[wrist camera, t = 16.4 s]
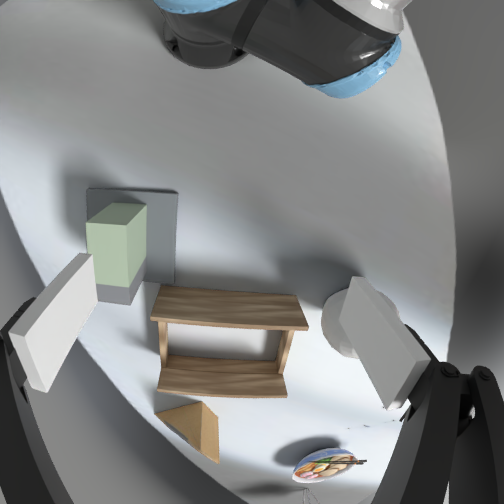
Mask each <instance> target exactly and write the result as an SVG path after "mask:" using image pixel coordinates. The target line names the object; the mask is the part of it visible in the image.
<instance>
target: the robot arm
mask: <svg viewBox="0 0 504 504" xmlns="http://www.w3.org/2000/svg"><path fill="white" fill-rule="evenodd" d="M153 1H154V2H155V3H156V4H157V6H158V7H159V9H160V10H161V12H162V14H163V15H164V17H165V22H164V28H163V33H164V39H165V42H166V45H167V47H168V48H169V50H170V51H171V53H172V54H173V55H174V56H175V57H176V58H177V59H179V60H180V61H181V62H183V63H185V64H187V65H189V66H192V67H196V68H201V69H217V68H223V67H227V66H230V65H232V64H234V63H236V62H238V61H240V60H242V59H243V58H244V57H246V56H247V55H248V54H249V53H250V54H252V55H254V56H256V57H258V58H260V59H262V60H264V61H266V62H268V63H270V64H272V65H274V66H276V67H278V68H280V69H281V70H283V71H285V72H287V73H289V74H291V75H292V76H294V77H296V78H298V79H299V80H301V81H302V82H303V83H304V84H305V85H307V86H310V87H313V88H316V89H318V90H319V91H321V92H323V93H325V94H327V95H328V96H330V97H334V98H348V97H352V96H355V95H357V94H359V93H361V92H363V91H365V90H366V89H368V88H369V87H371V86H372V85H374V84H375V83H376V82H377V81H379V80H380V79H381V78H382V77H383V76H384V75H385V74H386V73H387V72H386V70H387V68H389V67H391V66H392V65H393V64H394V63H395V61H396V60H397V58H398V56H399V54H400V51H401V40H400V38H399V36H398V34H400V33H401V32H402V30H403V29H404V23H403V16H402V10H403V8H405V7H406V6H407V5H408V4H409V3H410V2H411V1H412V0H153ZM97 303H98V299H97V291H96V283H95V274H94V265H93V254H85V253H79V254H78V255H77V256H76V257H75V258H74V259H73V260H72V261H71V262H70V263H69V264H68V265H67V266H66V267H65V268H64V269H63V270H62V271H61V272H60V273H59V274H58V275H57V276H56V278H55V279H54V280H53V281H52V282H51V283H50V284H49V285H48V286H47V287H46V288H45V290H44V291H43V292H42V293H41V294H40V295H39V296H38V298H34V297H33V298H31V299H29V300H28V301H26V302H24V303H23V305H22V306H21V307H20V308H19V309H18V311H17V312H16V313H15V314H14V315H13V317H11V318H10V320H9V321H8V322H7V323H6V324H5V326H4V327H3V328H2V329H1V330H0V486H1V489H2V492H3V494H4V497H5V500H6V503H7V504H74V503H73V501H72V499H71V498H70V496H69V494H68V492H67V490H66V489H65V487H64V485H63V483H62V481H61V479H60V477H59V475H58V473H57V471H56V469H55V467H54V464H53V462H52V460H51V458H50V455H49V453H48V451H47V449H46V446H45V444H44V441H43V439H42V436H41V433H40V431H39V428H38V425H37V423H36V420H35V417H34V414H33V411H32V408H31V405H30V402H29V398H28V395H27V392H26V389H25V387H24V385H23V384H24V382H25V380H26V379H28V381H29V383H30V385H31V387H32V388H34V389H37V390H40V391H43V392H46V393H48V391H49V389H50V387H51V384H52V382H53V381H54V379H55V377H56V375H57V373H58V371H59V369H60V367H61V365H62V363H63V361H64V360H65V358H66V356H67V354H68V352H69V350H70V348H71V347H72V345H73V343H74V341H75V340H76V338H77V336H78V334H79V333H80V331H81V329H82V328H83V326H84V324H85V322H86V321H87V319H88V317H89V316H90V314H91V312H92V311H93V309H94V308H95V306H96V304H97ZM339 322H340V324H341V326H342V327H343V329H344V331H345V333H346V335H347V336H348V338H349V340H350V342H351V344H352V346H353V348H354V349H355V351H356V353H357V355H358V357H359V359H360V361H361V362H362V364H363V366H364V368H365V370H366V372H367V374H368V376H369V378H370V379H371V381H372V383H373V385H374V387H375V389H376V391H377V393H378V395H379V397H380V399H381V401H382V403H383V405H384V407H385V409H386V411H387V410H393V409H398V408H401V407H402V406H403V404H404V403H405V401H406V400H407V398H408V399H409V401H410V403H411V405H410V406H409V408H408V409H407V410H406V412H405V413H404V415H403V416H402V417H401V419H400V421H401V422H402V420H403V419H404V418H405V419H404V422H403V425H402V428H401V431H400V434H399V437H398V440H397V443H396V446H395V449H394V451H393V454H392V457H391V459H390V462H389V464H388V467H387V469H386V472H385V474H384V476H383V479H382V481H381V483H380V486H379V488H378V490H377V492H376V494H375V497H374V499H373V501H372V503H371V504H443V502H444V498H445V494H446V490H447V486H448V481H449V504H504V401H503V398H502V395H501V392H500V389H499V387H498V384H497V381H496V378H495V376H494V374H493V373H492V372H491V371H490V369H488V368H487V367H483V366H476V367H474V369H473V371H472V372H471V374H460V372H459V370H458V369H457V368H456V367H455V366H454V365H452V364H450V363H447V362H439V361H438V359H437V358H436V357H435V356H434V354H433V353H432V352H431V350H430V349H429V348H428V347H427V345H426V344H424V342H423V340H422V339H420V337H419V335H418V334H417V333H416V332H415V330H413V329H412V328H411V327H409V326H408V325H406V324H403V322H402V321H401V320H400V319H399V318H398V316H397V315H396V314H395V313H394V311H393V310H392V309H391V308H390V307H389V305H388V304H387V303H386V302H385V301H384V299H383V298H382V297H381V296H380V295H379V293H378V292H377V291H376V290H375V289H374V287H373V286H372V285H371V284H370V283H369V282H368V280H367V279H366V278H365V277H355V276H352V278H351V282H350V285H349V289H348V292H347V295H346V298H345V301H344V305H343V308H342V311H341V314H340V317H339ZM474 410H475V417H474V418H473V419H472V415H471V414H472V413H473V411H474Z"/></svg>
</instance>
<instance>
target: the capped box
mask: <svg viewBox="0 0 504 504" xmlns="http://www.w3.org/2000/svg"><path fill="white" fill-rule="evenodd" d="M146 218H147V204H131V203H114V202H113V203H111V204H110V205H109V206H107V207H106V208H105V209H103V210H102V211H100V212H99V213H98V214H96V215H95V216H94V217H92V218H91V219H90V220H88V221H87V222H86V237H87V250H88V254H93V265H94V274H95V283H96V291H97V299H98V301H100V302H107V303H115V304H122V305H131V303H132V301H133V299H134V297H135V295H136V293H137V290H138V288H139V286H140V284H141V282H142V280H143V278H144V276H145V274H146V272H147V265H146Z"/></svg>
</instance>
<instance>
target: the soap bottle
mask: <svg viewBox="0 0 504 504" xmlns="http://www.w3.org/2000/svg"><path fill="white" fill-rule="evenodd" d="M348 289H349V288H347V289H344V290H342V291H339V292H337V293H335V294H333V295H332V296H330V297H329V298H328V299H327V300H326V302H325V305H324V308H323V311H322V317H321V326H322V331H323V334H324V336H325V338H326V339H327V341H328V342H329V344H330V345H331V347H332V348H334V349H335V350H336V351H338V352H339V353H340V354H342V355H343V356H345V357H348V358H356V359H359V357H358V355H357V353H356V351H355V349H354V348H353V346H352V344H351V342H350V340H349V338H348V336H347V335H346V333H345V331H344V329H343V327H342V326H341V324H340V322H339V317H340V314H341V311H342V308H343V305H344V301H345V298H346V295H347V292H348ZM376 291H377V290H376ZM377 292H378V293H379V295H380V296H381V297H382V298H383V299H384V301H385V302H386V303H387V304H388V305H389V307H390V308H391V309H392V310H393V311H394V313H395V314H396V315H397V316H398V318H399V319H400V314H399V311H398V309H397V308H396V306H395V304H394V303H393V302H392V301H391V300H390V299H389V298H388V297H387V296H385V295H384V294H383V293H381V292H379V291H377Z"/></svg>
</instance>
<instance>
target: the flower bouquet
mask: <svg viewBox="0 0 504 504" xmlns="http://www.w3.org/2000/svg"><path fill="white" fill-rule="evenodd" d="M308 490H309V491H310V492H311V494H312V495H313V496H314V497H315V495H314V494H313V493H312V491H311V490H310V489H307V488H306V491H307V496H308V500H309V504H310V499H309V494H308ZM304 499H305V489H304V492H303V504H305V503H304ZM315 499H316V500H317V502H318V503H319V501H318V499H317V498H316V497H315ZM319 504H320V503H319Z"/></svg>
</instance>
